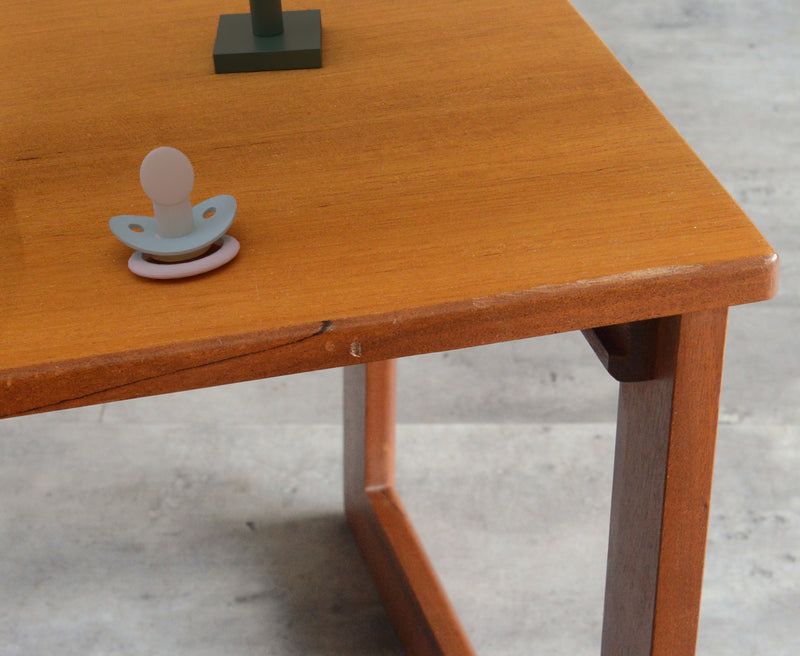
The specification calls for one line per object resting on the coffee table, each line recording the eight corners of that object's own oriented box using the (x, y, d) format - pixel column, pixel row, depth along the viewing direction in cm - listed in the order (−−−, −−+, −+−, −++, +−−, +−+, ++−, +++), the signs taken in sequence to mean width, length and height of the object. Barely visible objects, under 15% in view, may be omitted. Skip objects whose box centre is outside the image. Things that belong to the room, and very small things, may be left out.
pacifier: (256, 270, 68) (232, 217, 72) (244, 173, 64) (219, 123, 68) (128, 297, 66) (111, 242, 70) (107, 199, 62) (90, 147, 66)
